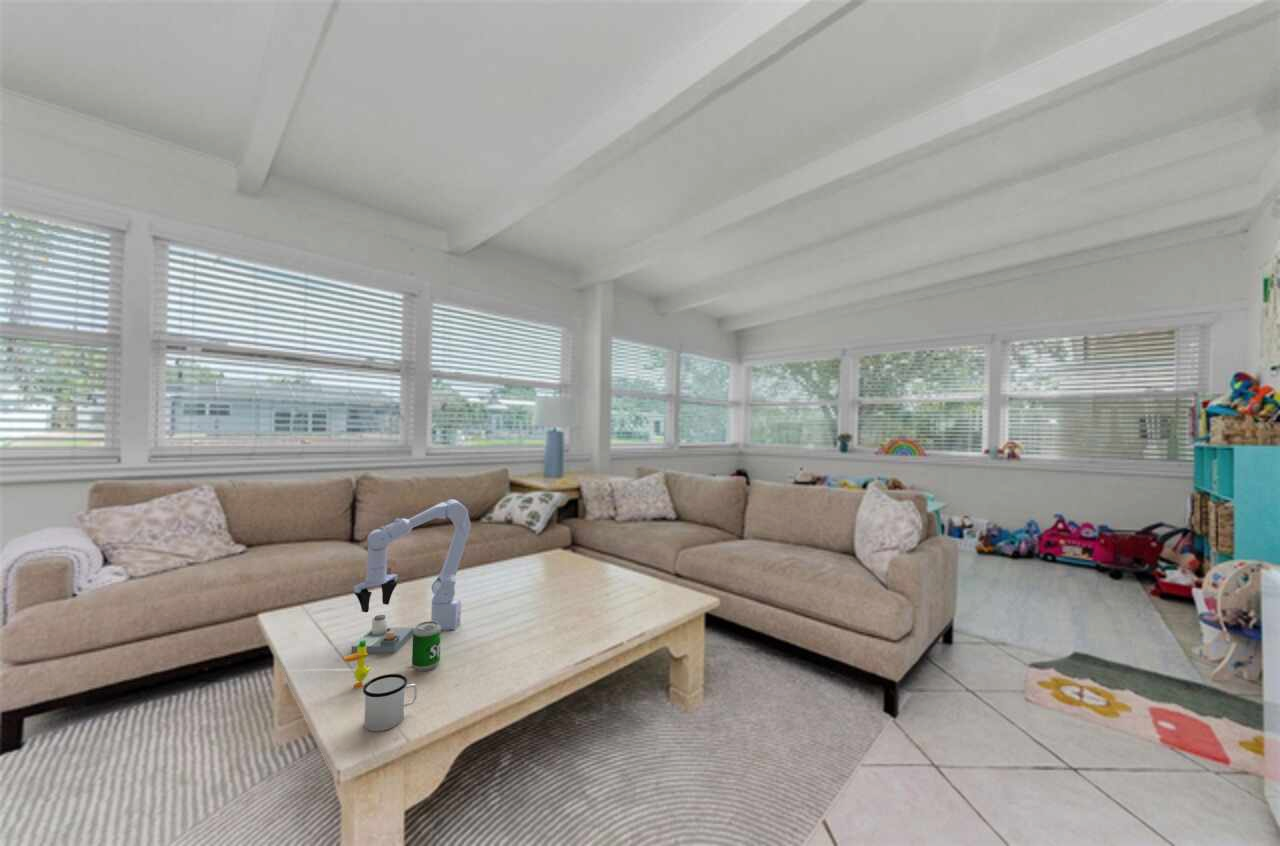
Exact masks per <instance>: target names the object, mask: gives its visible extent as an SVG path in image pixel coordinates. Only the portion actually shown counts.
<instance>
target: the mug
mask: <svg viewBox="0 0 1280 846" xmlns="http://www.w3.org/2000/svg"><path fill="white" fill-rule="evenodd" d="M411 687H414V690H413V691H414V694H413V699H412V700H410V701H408V702H405V690H406V689H409V688H411ZM417 689H418V686H417V684H416V683H409V684H408V678H407V677H406V675H403V674H399V673H389V674H383V675H379V676H377V677H374V678H372V679H370V680H369V681H367V682H366V683H365V684H363V686H362V693H363V694H364V695H365V700H364V720H363V721H364V723H363V724H364V725H363V726H364V728H365V729H366V730H367V731H371V732H384V731H388V730H390V729H392V728H394V727H396V726H398V724H399V725H400V723H401V722H402V721H403V719H404V716H405V715H404V713H405V712H404V711H405V707H408V706H409V705H413V704H414V703H415V702H416V700H417V693H418V691H417Z"/></svg>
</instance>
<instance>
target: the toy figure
mask: <svg viewBox="0 0 1280 846" xmlns="http://www.w3.org/2000/svg"><path fill="white" fill-rule="evenodd" d="M365 643H366V641H365V640H362V641H360V644H359V645H358V652H357V653H351V654H349V655H346V656H345V657H344V658H343V661H345V662H347V663H351V662H354V661H357V667H356V668H355V670H354V679H355V680H356V681H357V682H355V683H354V684H353V687H354V689H359V688H361V687H362V688H363V687H364V684H363V683H362V682H363V681H365V679H366V678H367V675H368V673H369V672H370V671H371V669H372V666H369V667H367V666H366V664H365V663H366V657H368V656H369V653H366V645H367V644H365Z"/></svg>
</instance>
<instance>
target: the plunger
mask: <svg viewBox="0 0 1280 846" xmlns="http://www.w3.org/2000/svg"><path fill="white" fill-rule="evenodd" d="M394 639H395V631H388V632H386V636H385V640H386V641H391V640H394Z"/></svg>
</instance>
